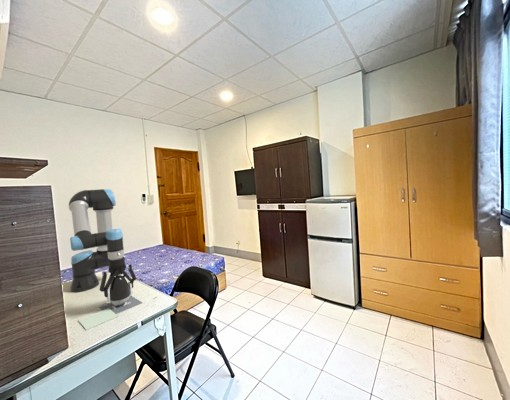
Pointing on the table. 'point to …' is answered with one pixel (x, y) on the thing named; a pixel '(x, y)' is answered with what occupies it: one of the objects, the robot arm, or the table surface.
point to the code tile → (122, 305)
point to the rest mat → (97, 318)
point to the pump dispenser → (119, 290)
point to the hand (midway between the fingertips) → (120, 298)
